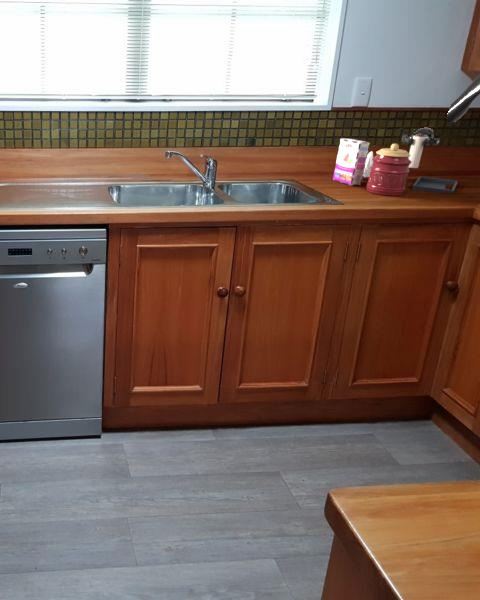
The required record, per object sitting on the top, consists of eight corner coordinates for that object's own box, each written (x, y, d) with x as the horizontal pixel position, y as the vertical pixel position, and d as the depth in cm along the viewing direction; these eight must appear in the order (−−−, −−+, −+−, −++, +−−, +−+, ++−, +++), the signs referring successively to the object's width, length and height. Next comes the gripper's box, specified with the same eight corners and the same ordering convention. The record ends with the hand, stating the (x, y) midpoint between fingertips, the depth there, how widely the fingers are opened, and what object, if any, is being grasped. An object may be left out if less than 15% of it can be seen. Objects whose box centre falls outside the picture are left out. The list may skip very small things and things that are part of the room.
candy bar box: (361, 185, 234) (371, 142, 228) (351, 186, 233) (360, 142, 226) (342, 179, 244) (350, 137, 237) (331, 180, 242) (340, 138, 236)
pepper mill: (418, 166, 244) (427, 133, 239) (417, 168, 241) (425, 134, 235) (406, 165, 246) (414, 132, 241) (405, 167, 243) (413, 133, 238)
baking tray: (456, 185, 239) (458, 181, 239) (452, 195, 223) (453, 190, 222) (418, 180, 246) (419, 176, 245) (411, 190, 229) (412, 185, 229)
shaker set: (361, 180, 242) (367, 152, 238) (353, 178, 246) (359, 151, 242) (385, 179, 246) (391, 152, 242) (377, 177, 250) (383, 150, 245)
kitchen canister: (368, 186, 233) (378, 139, 226) (405, 191, 227) (416, 143, 220) (363, 193, 222) (373, 143, 216) (402, 198, 216) (414, 147, 210)
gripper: (405, 126, 253) (399, 130, 239) (444, 130, 245) (440, 134, 232) (401, 144, 256) (395, 150, 242) (439, 148, 248) (435, 154, 235)
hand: (417, 142), depth 237 cm, fingers closed on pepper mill, 4 cm apart
